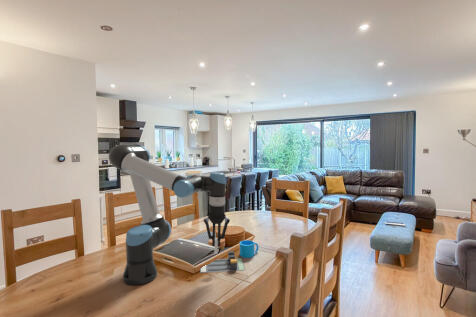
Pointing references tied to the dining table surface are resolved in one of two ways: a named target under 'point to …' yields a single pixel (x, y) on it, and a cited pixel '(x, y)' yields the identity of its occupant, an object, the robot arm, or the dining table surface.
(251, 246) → the mug
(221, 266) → the panel
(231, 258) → the breaker
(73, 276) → the dining table surface
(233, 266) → the breaker
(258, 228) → the dining table surface
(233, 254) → the block
